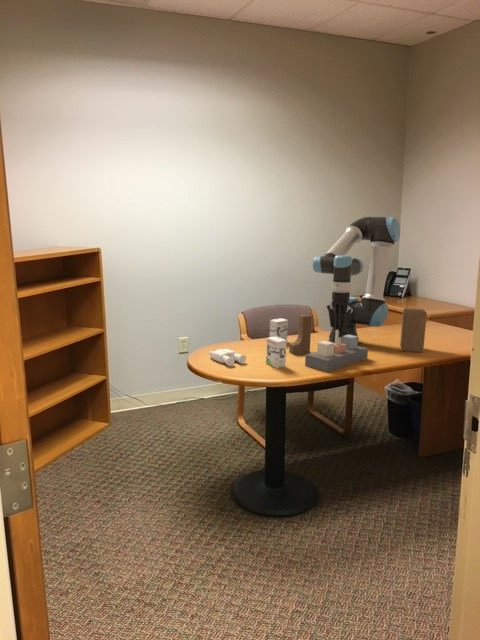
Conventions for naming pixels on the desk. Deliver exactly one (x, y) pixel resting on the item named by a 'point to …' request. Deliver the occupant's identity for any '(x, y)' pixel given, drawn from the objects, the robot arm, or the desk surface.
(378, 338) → the desk surface
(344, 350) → the salmon pink block
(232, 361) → the binoculars
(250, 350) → the desk surface
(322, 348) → the cream plunger
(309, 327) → the wooden block
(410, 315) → the wooden block
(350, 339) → the slate-blue plunger
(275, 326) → the ink box
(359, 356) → the gray slotted tray
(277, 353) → the ink box
